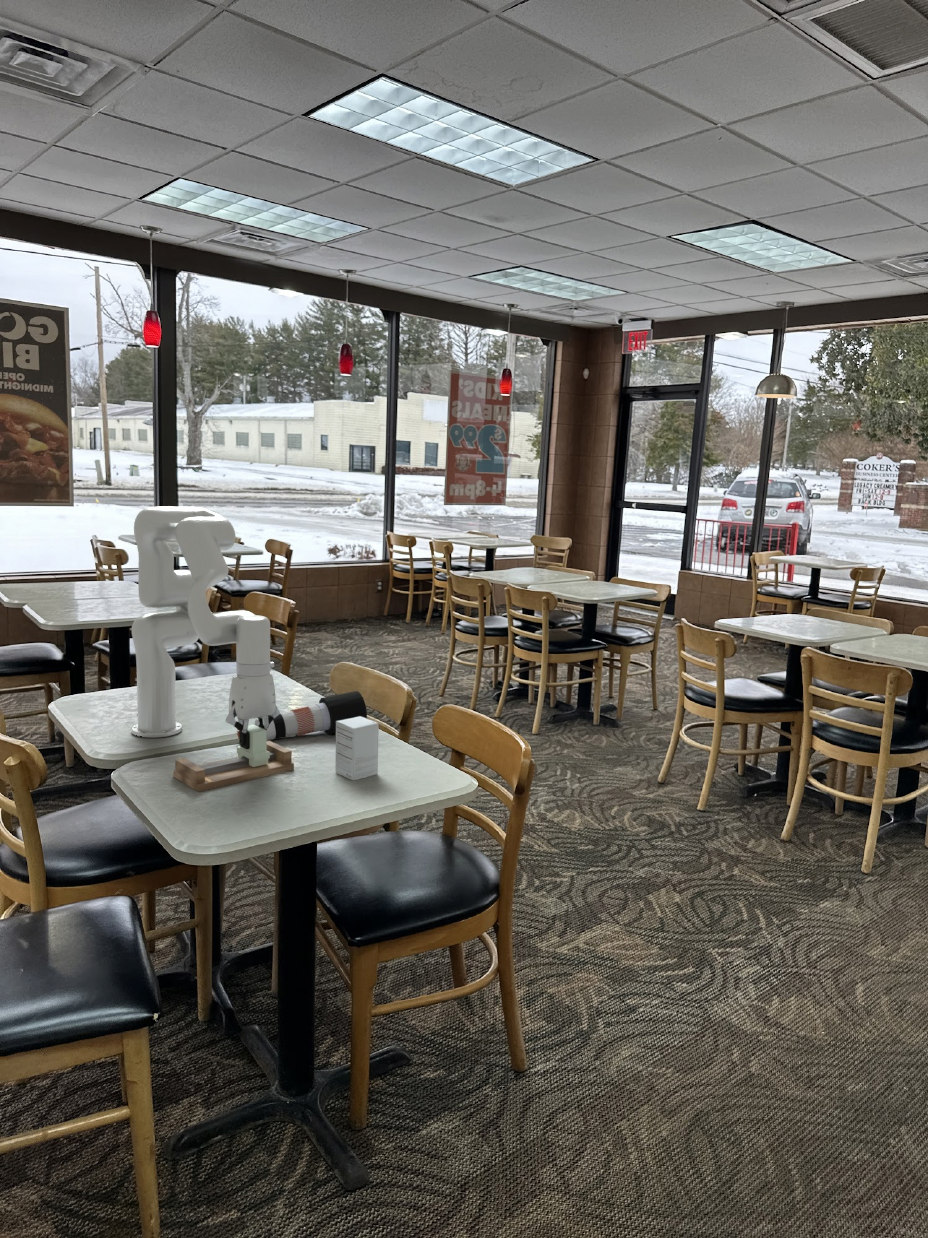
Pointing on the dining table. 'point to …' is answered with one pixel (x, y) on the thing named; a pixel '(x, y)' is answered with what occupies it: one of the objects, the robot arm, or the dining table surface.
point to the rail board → (232, 769)
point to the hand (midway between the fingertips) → (253, 745)
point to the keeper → (256, 747)
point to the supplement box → (357, 748)
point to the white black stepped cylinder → (317, 716)
